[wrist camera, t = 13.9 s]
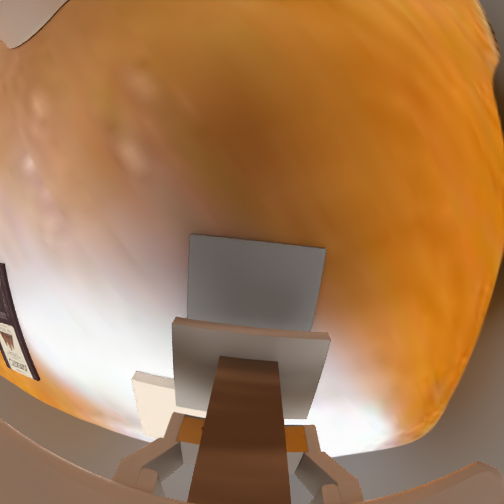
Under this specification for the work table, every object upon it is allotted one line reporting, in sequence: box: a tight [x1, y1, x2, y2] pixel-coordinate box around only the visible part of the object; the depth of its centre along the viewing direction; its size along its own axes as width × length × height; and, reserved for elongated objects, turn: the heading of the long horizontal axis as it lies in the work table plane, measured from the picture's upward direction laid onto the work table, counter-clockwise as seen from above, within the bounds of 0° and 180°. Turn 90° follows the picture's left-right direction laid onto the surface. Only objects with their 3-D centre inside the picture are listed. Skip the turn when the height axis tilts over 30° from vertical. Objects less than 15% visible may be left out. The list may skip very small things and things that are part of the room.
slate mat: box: [187, 234, 326, 332], centre depth 23 cm, size 11×11×1 cm
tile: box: [131, 371, 207, 438], centre depth 26 cm, size 2×9×10 cm
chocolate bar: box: [0, 263, 40, 381], centre depth 25 cm, size 9×1×18 cm
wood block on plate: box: [172, 317, 331, 504], centre depth 8 cm, size 6×8×13 cm
